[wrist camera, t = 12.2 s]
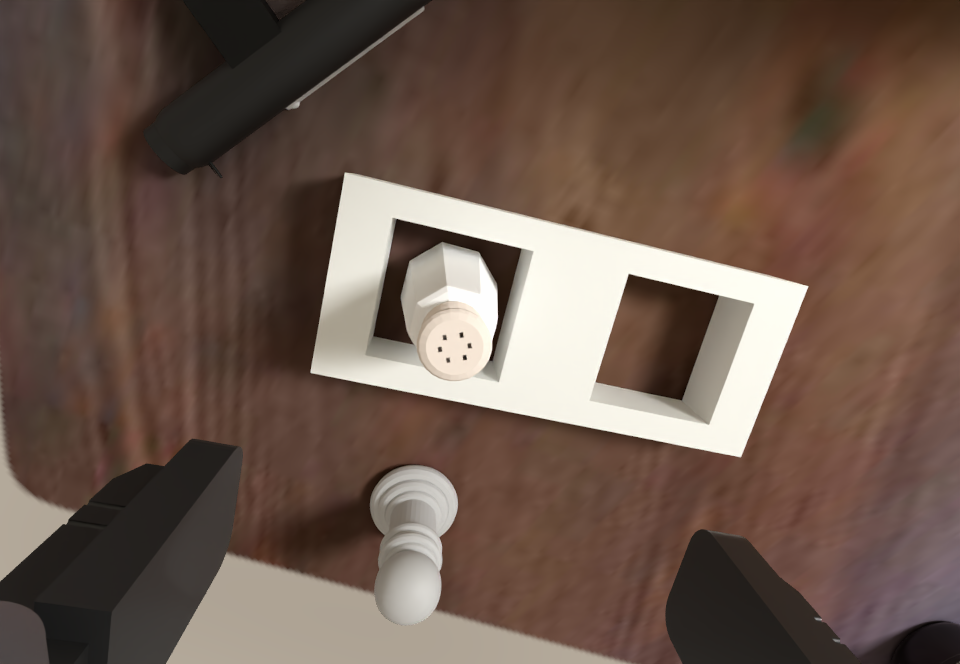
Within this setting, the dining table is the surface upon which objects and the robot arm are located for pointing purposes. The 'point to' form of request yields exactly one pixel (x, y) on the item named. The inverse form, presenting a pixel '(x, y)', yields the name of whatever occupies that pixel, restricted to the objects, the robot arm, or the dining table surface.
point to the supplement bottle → (930, 645)
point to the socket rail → (556, 322)
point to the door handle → (266, 68)
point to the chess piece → (411, 540)
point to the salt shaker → (450, 310)
